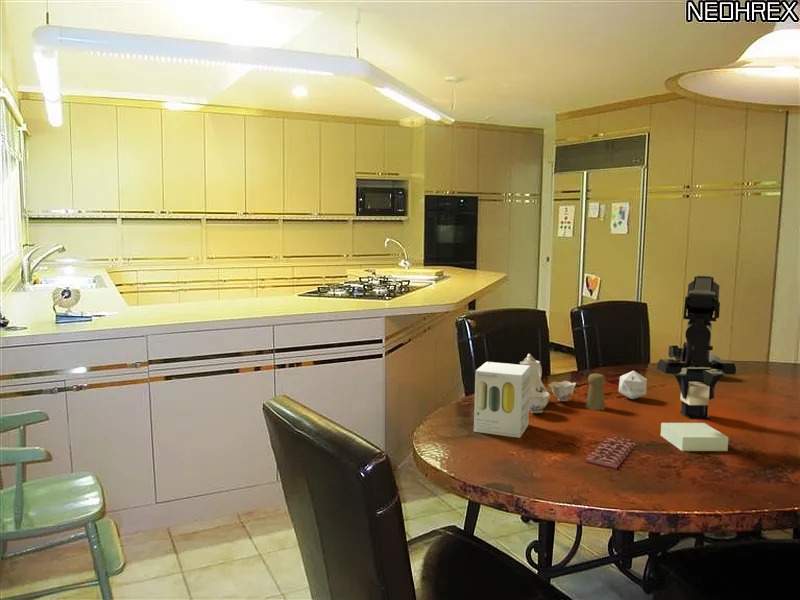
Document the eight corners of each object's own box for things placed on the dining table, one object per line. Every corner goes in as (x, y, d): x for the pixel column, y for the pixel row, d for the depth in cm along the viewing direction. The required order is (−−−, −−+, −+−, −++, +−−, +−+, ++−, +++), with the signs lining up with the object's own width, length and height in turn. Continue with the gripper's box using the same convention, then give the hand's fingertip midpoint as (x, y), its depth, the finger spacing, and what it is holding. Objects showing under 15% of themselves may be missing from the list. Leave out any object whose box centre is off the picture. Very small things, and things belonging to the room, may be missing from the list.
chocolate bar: (635, 447, 164) (635, 440, 164) (616, 470, 148) (616, 462, 148) (607, 441, 168) (607, 434, 168) (585, 463, 152) (586, 455, 152)
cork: (606, 411, 194) (608, 376, 193) (586, 410, 195) (587, 375, 194) (604, 406, 200) (605, 372, 199) (584, 404, 201) (586, 371, 200)
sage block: (703, 436, 173) (704, 422, 172) (727, 452, 161) (728, 437, 160) (660, 436, 172) (661, 422, 172) (681, 452, 160) (682, 437, 160)
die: (617, 401, 206) (619, 372, 205) (619, 395, 214) (620, 366, 213) (645, 404, 203) (647, 374, 201) (645, 398, 211) (647, 369, 210)
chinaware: (546, 422, 183) (549, 366, 181) (495, 411, 193) (497, 358, 191) (580, 401, 206) (582, 351, 204) (532, 393, 215) (534, 345, 213)
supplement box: (472, 432, 173) (474, 370, 171) (484, 419, 185) (485, 360, 183) (520, 438, 168) (522, 374, 166) (529, 424, 180) (531, 365, 178)
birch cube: (698, 400, 168) (699, 381, 168) (708, 405, 163) (709, 386, 163) (680, 399, 168) (681, 381, 167) (689, 405, 163) (690, 386, 162)
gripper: (717, 335, 172) (712, 391, 174) (650, 334, 171) (646, 390, 173) (740, 342, 161) (735, 402, 163) (668, 342, 160) (664, 401, 162)
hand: (694, 398), depth 165 cm, fingers closed on birch cube, 5 cm apart
